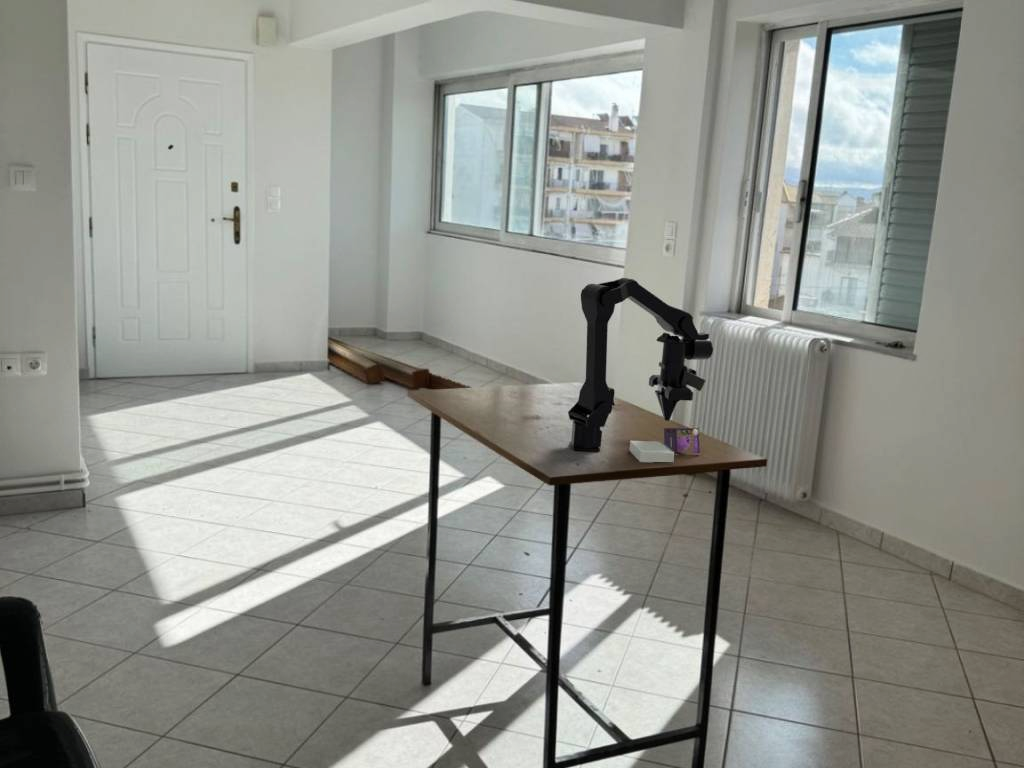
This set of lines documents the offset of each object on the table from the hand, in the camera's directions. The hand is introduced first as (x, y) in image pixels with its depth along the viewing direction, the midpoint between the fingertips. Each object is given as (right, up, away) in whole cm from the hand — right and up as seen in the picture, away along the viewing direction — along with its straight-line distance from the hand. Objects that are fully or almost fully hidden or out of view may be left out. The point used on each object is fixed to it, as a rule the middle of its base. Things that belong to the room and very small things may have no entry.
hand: (666, 420), depth 241 cm
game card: (+1, -8, -9) cm, 12 cm away
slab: (-6, -8, -15) cm, 18 cm away
